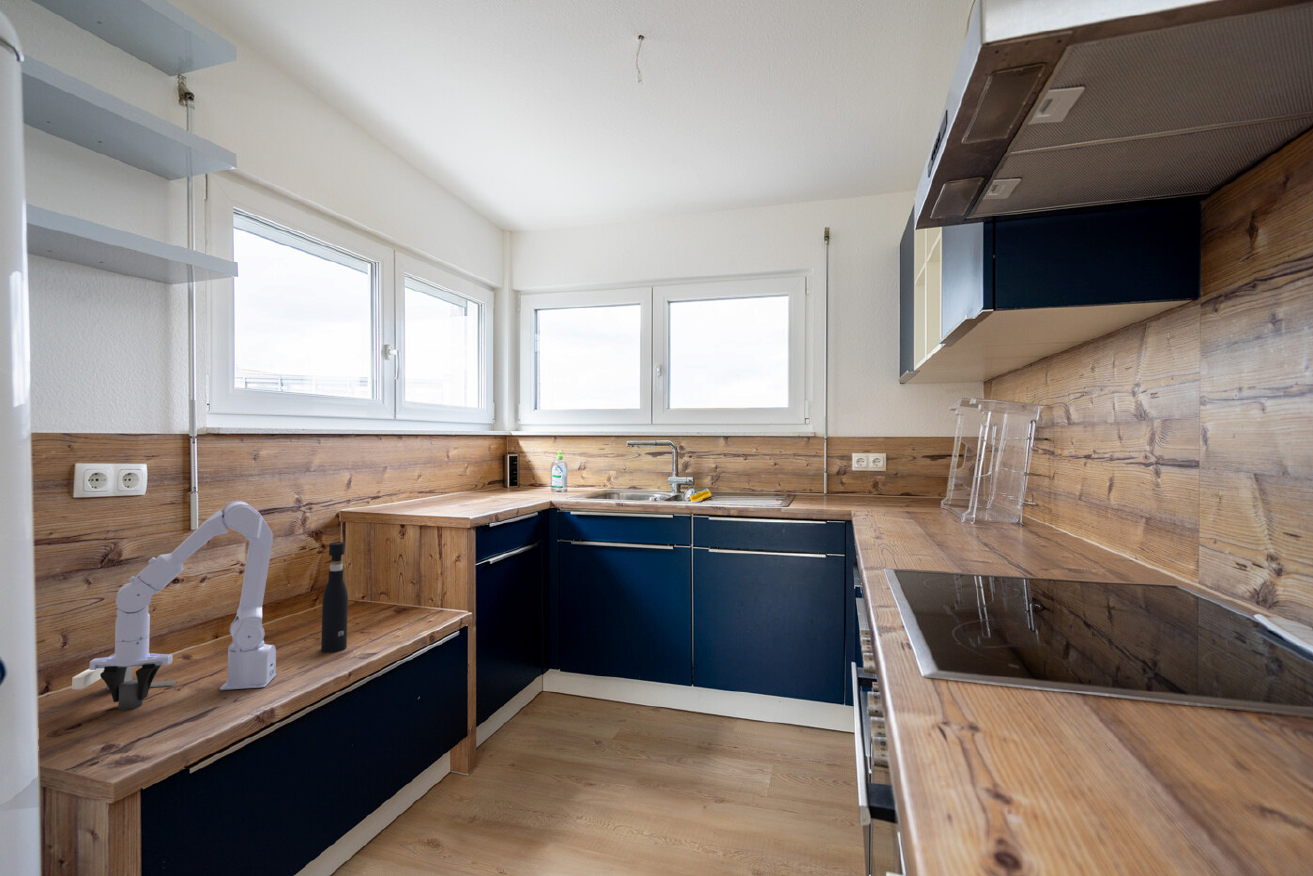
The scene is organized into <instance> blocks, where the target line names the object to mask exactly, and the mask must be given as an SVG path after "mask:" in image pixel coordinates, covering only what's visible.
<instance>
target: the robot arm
mask: <svg viewBox="0 0 1313 876" xmlns="http://www.w3.org/2000/svg"><path fill="white" fill-rule="evenodd" d="M228 528H229V529H230V530H232V531H235V532H237V533H239V534H241V535H242V536H244V538H245V539H247V541H249V542H248V548H247V555H246V560H245V561H246V562H245V566H244V574H243V579H242V580H243V581H242V584H241V585H242V587H241V592H240V593H241V594H240V600H239V605H238V607H237V610H236V616H235V618H234V620H233V621H232V622H231V624H230V626H229V634H230V636H231V637H232V641H231V643H230V644H229V645H228V646H227V647H228V649H227V650H228V651H227V652H228V653H227V681H226V682H225V683H224V684H222V686H221V687H220V688H219V690H220V691H226V690H239V689H241V690H242V689H243V690H244V689H257V688H265V687H266V686H267V685H268V684H269V683H270V682H271V681H272V680H273V679H274V678H275V677H276V676H277V673H276V670H277V669H276V667H277V665H276V664H277V663H276V662H277V648H276V645H274V644H266V643H265V641H264V638H265V634H266V633H265V629H264V627H263V603H264V598H265V591H266V584H267V578H268V571H269V566H270V559H271V551H272V546H273V539H274V534H273V532H272V530H271V528H270V527H269V525H268V523H267V522H266V520H265V519H264V518H263V515H261V513H260V512H259V511H258V510H256V508H254V507H253V506H252V505H250V504H249V503H248V502H245V501H243V500H233V501H230V502H228V503H227V504H225V505H224V507H223V508H222V510H221V509H219V510H217V511H216V512H215V513H214V514H212V515H211V516H210V517H208V518H207V519H206V520H205V521H204V522H202V524H201V525H199V526H198V527H197V528H196V529H195V530H194V531H193V532H192V533H191V534H190V535H188V537H186V539H184V540H183V541H182V543H180V544H179V545H178V546H177V547H176V548H175V549H174V550H173V551H172V552H171V553H170V552H169V553H165V554H160V555H158V556H157V557H154V556H153V557H152V558H150V559H149V560H148V562H147V563H148V565H147V566H146V567H144V568H143V569H142V570H141V571H139V573H138V574H137V575H136V576H134V575H132V576H131V577H130V578H128V581H129V582H127V583H125V584H124V585H122V586H121V587H120V588H119V589H118V591H117V594H116V595H115V596H116V597H115V604H116V607H117V610H116V619H115V631H114V632H115V635H114V653H115V656H112V657H108V656H106V657H96V658H94V659H92V660H90V661H89V668H88V669H89V670H96V669H101V668H104V671H103V672H102V673H101V674H100V676H101V679H102V680H103V681H104V683H105V684H106V687H107V686H108V687H109V689H108V690H109V692H110V694H111V697H112V701H113V703H118V702H119V685H120V684H121V683H123V682H124V678H125V673H126V669H127V667H133V668H134V667H135V668H136V667H140V668H138V669H137V670H135V676H136V680H138V701H139V700H142V701H144V699H146V698H147V697H148V694H149V692H150V691H149V690H150V688H151V687H150V685H151V683H152V682H153V680H154V678H155V676H156V674H157V673H158V671H159V669H160V668H161V666H162V667H168V666H169V665H171V664H172V663H173V653H172V654H171V653H167V654H166V653H165V654H163V653H152V652H151V653H150V626H151V625H150V624H151V622H150V621H151V614H150V613H149V605H150V604H151V601H152V597H153V596H154V595H156V594H159V593H160V592H161V591H162V590H163V589H165V587H167V585H168V584H170V583H171V582H172V581H173V580H175V578H176V577H177V576H179V574H181V572H183V571H184V562H185V561H187V559H189V558H190V557H191V556H193V554H195V553H196V552H197V551H198V550H199V549H201V548H202V547H203V546H204V545H205V544H207V542H209V541H210V540H211V539H213V537H216V536H221V535H225V534H228V533H229V530H228Z"/></svg>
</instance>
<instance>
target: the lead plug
mask: <svg viewBox="0 0 1313 876" xmlns="http://www.w3.org/2000/svg"><path fill="white" fill-rule="evenodd" d="M117 703H118V704H117V707H118V710H119V711H125V710H126V711H127V710H128V711H129V710H133V709H136V708H138V707H140V706H142V705H143V700H139V701H138V680H137V679H132V680H130V681H126V682H123V683H121V684H120V685H119V701H118V702H117Z"/></svg>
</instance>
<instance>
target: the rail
mask: <svg viewBox="0 0 1313 876" xmlns="http://www.w3.org/2000/svg"><path fill="white" fill-rule="evenodd" d="M176 683H178V680H176V679H175V680H174V679H172V680H160V681H152V683H151V685H150V688H161V687H162V688H163V687H172V686H174V685H175V684H176Z"/></svg>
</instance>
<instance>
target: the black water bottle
mask: <svg viewBox="0 0 1313 876" xmlns="http://www.w3.org/2000/svg"><path fill="white" fill-rule="evenodd" d="M344 555H345V542H341V541H335V542H330V543H329V544H328V556H331V559H330V560H331V561H330V562H331V563H330V565H329V570H328V577H327V579H328V580H327V583H326V585H325V589H324V592H323V596H322V605H321V607H322V608H321V609H322V611H321V639H320V640H321V645H320V648H321V649H320V650H321V652H322V653H337V652H342V651H343V650H346V649H347V647H348V645H347V643H348V641H347V640H348V617H349V616H348V615H349V613H348V612H349V611H348V608H349V605H348V604H349V596H348V590H347V589H348V588H347V586H346V583H345V581H344V571H345V570H344V569H343V568H344V567H343V563H342V562H343V560H342V557H343V556H344Z"/></svg>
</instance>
